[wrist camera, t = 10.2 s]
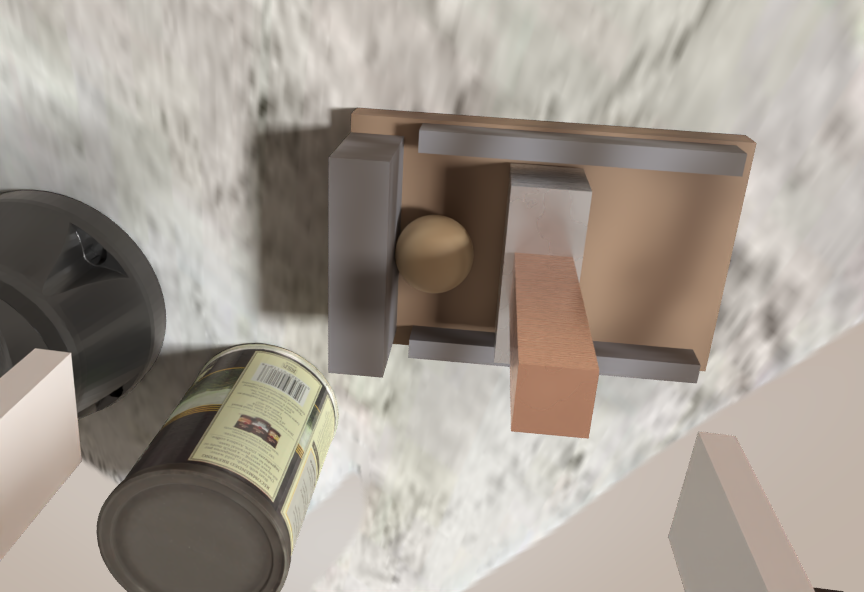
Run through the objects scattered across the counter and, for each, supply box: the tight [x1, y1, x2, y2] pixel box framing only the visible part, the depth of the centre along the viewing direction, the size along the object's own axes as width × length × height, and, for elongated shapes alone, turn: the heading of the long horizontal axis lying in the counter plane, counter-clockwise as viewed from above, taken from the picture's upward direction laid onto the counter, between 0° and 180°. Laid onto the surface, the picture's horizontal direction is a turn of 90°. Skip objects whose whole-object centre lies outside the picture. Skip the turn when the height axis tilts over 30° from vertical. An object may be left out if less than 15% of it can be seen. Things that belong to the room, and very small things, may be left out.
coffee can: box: [97, 344, 339, 592], centre depth 47 cm, size 10×10×14 cm
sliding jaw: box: [494, 163, 599, 438], centre depth 37 cm, size 4×10×17 cm, turn 177°
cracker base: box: [328, 108, 756, 383], centre depth 43 cm, size 22×14×8 cm, turn 87°
